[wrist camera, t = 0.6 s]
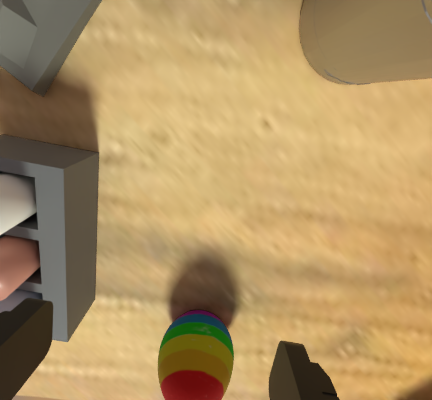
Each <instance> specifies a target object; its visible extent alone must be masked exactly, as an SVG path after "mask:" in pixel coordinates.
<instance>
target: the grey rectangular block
mask: <svg viewBox="0 0 432 400" xmlns="http://www.w3.org/2000/svg"><path fill="white" fill-rule="evenodd" d="M98 166H99V153H97V152H92V151H87V150H81V149H76V148H71V147H66V146H61V145H55V144H50V143H45V142H40V141H34V140H29V139H24V138H19V137H14V136H8V135H0V173H3V172H8V173H14V174H19V175H24V176H30V177H35V189H36V204H37V213H35V214H33V215H32V216H30V217H28V218H27V219H25V220H24V221H22V222H20V223H19V224H17V225H16V226H14V227H12V228H11V229H9V230H8V231H6V232H4V233H3V234H1V235H0V238H2V237H3V236H5V235H10V236H16V237H22V238H27V239H33V240H38V241H39V250H40V265H41V266H40V267H39V268H38V269H37V270H36V271H35V272H34V273H33V274H32V275H31V276H30V277H28V278H27V279H26V280H25V281H24V282H23V283H22V284H21V285H20V286H19V287H18V288H17V289H21V290H26V291H32V292H38V293H42V296H43V300H47V301H51V302H52V303H53V333H52V340H57V341H63V342H68V341H69V339H70V338H71V336H72V334H73V333H74V331H75V330H76V328H77V327H78V325H79V324H80V322H81V320H82V319H83V317H84V316H85V314H86V313H87V311H88V310H89V308H90V306H91V305H92V303H93V302H94V300H95V281H96V243H97V204H98Z"/></svg>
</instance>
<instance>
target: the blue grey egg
mask: <svg viewBox="0 0 432 400" xmlns="http://www.w3.org/2000/svg"><path fill="white" fill-rule="evenodd" d="M26 298H35V299H41V300H43V296H42V293H38V292H32V291H26V290H21V289H15V290H14V291H13V292H12V293H11V294H10V295H9V296H8V297H7V298H6V299H4V300H2V301H0V313H1V312H3V311H11V310H12V309H14V308H15V307H16V306H17V305H18V304H20V303H21V302H22V301H23V300H24V299H26Z"/></svg>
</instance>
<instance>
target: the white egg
mask: <svg viewBox="0 0 432 400" xmlns="http://www.w3.org/2000/svg"><path fill="white" fill-rule="evenodd" d="M35 213H37V204H36V189H35V177H30V176H24V175H19V174H14V173H8V172H3V173H0V235H1V234H3V233H4V232H6V231H8V230H9V229H11V228H12V227H14V226H16V225H17V224H19V223H20V222H22V221H24V220H25V219H27V218H28V217H30V216H32V215H33V214H35Z"/></svg>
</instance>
